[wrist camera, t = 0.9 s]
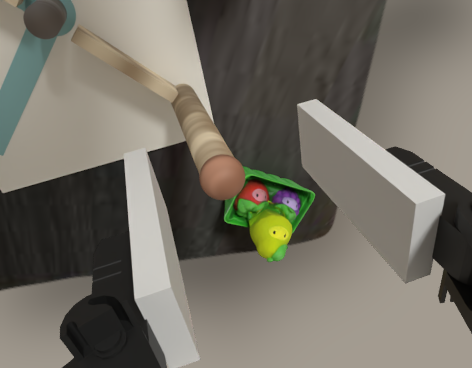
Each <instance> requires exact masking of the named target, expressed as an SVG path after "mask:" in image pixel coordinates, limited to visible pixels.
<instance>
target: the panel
mask: <svg viewBox="0 0 472 368" xmlns="http://www.w3.org/2000/svg"><path fill="white" fill-rule="evenodd" d="M71 42H73V43H75V44H76V45H78V46H80V47H81V48H83V49H85V50H86V51H88V52H90V53H91V54H93V55H94V56H96V57H98V58H99V59H101V60H103V61H104V62H106V63H108V64H109V65H111V66H112V67H114V68H116V69H117V70H119V71H121V72H122V73H124V74H126V75H127V76H129V77H131V78H132V79H134V80H135V81H137V82H139V83H140V84H142V85H144V86H145V87H147V88H149V89H150V90H152V91H153V92H155V93H157V94H158V95H160V96H162V97H163V98H165V99H167V100H168V101H170V102H171V104H172V107H173V109H174V112H175V114H176V117H177V119H178V122H179V124H180V127H181V129H182V132H183V134H184V137H185V139H186V142H187V144H188V147H189V149H190V152H191V154H192V157H193V159H194V162H195V164H196V167H197V169H198V172H199V174H200V184H201V186H202V188H203V190H204V191H205V193H206V194H207V195H209V196H210V197H212V198H214V199H217V200H227V199H231V198H233V197H235V196H236V195H237V194H238V193H239V192H240V191H241V190H242V188H243V186H244V183H245V172H244V168H243V166H242V165H241V163H240V162H239V161H238V160H237V159H235V158H234V156H233V155H232V153H231V151H230V150H229V148H228V146H227V145H226V143H225V141H224V140H223V138H222V136H221V135H220V133H219V131H218V130H217V128H216V126H215V125H214V123H213V121H212V120H211V118H210V116H209V114H208V113H207V111H206V109H205V108H204V106H203V104H202V103H201V101H200V99H199V98H198V96H197V94H196V93H195V91H194V89H193V88H192V87H191V86H190V85H187V84H178V85H176V86H175V85H173V84H172V83H170V82H169V81H167V80H166V79H164V78H162V77H161V76H159V75H158V74H156V73H155V72H153V71H152V70H150V69H148V68H147V67H145V66H144V65H142V64H141V63H139V62H138V61H136V60H134V59H133V58H131V57H130V56H128V55H127V54H125V53H123V52H122V51H120V50H119V49H117V48H116V47H114V46H113V45H111V44H109V43H108V42H106V41H105V40H103V39H102V38H100V37H99V36H97V35H95V34H94V33H92V32H91V31H89V30H88V29H86V28H84V27H83V26H81V25H80V24H79V25H78V27H77V29H76V30H75V32H74V34H73V36H72V39H71Z"/></svg>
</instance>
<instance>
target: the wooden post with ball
mask: <svg viewBox="0 0 472 368" xmlns="http://www.w3.org/2000/svg"><path fill="white" fill-rule="evenodd" d="M4 1H6V2H8V3H9V4H11V5H12V6H14V7H17V6H19V5H20V4H22V3H23V1H24V0H4ZM23 19H24V24H25V26H26V28H27V29H28V31H29V32H30V33H31V34H33V35H34V36H36V37H38V38H40V39H51V38H54V37H55V36H57V35H58V33H59V32H60V30H61V28H62V26H63V25H64V23H65V21H66V19H67V11H66V8H65V6H64V5H63V3H62V2H61V1H60V0H36V1H35V2H34V3H32V4H31V5H30V6H28V7H27V8H26V10H25V12H24V16H23Z"/></svg>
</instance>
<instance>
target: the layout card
mask: <svg viewBox="0 0 472 368" xmlns="http://www.w3.org/2000/svg"><path fill="white" fill-rule="evenodd" d="M35 1H36V0H24V1H23V3H22V4H20V5H19V6H17V7H14V6H12V5H11V4H9V3H8V2H6V1H4V0H0V190H1V191H2V193H6V192H9V191H13V190H16V189H20V188H23V187H27V186H30V185H34V184H37V183H41V182H44V181H47V180H51V179H54V178H58V177H61V176H65V175H68V174H72V173H75V172H79V171H82V170H86V169H89V168H93V167H96V166H100V165H103V164H107V163H110V162H114V161H117V160H121V159H124V154H125V153H128V152H132V151H135V150H139V149H142V148H146V151H147V152H149V151H152V150H156V149H159V148H163V147H166V146H170V145H173V144H177V143H180V142H184V141H186V139H185V137H184V134H183V132H182V129H181V127H180V124H179V122H178V119H177V117H176V114H175V112H174V109H173V107H172V104H171V102H170V101H168V100H167V99H165V98H163V97H162V96H160V95H158V94H157V93H155V92H153V91H152V90H150V89H149V88H147V87H145V86H144V85H142V84H140V83H139V82H137V81H135V80H134V79H132V78H131V77H129V76H127V75H126V74H124V73H122V72H121V71H119V70H117V69H116V68H114V67H112V66H111V65H109V64H108V63H106V62H104V61H103V60H101V59H99V58H98V57H96V56H94V55H93V54H91V53H90V52H88V51H86V50H85V49H83V48H81V47H80V46H78V45H76V44H75V43H73V42H71V39H72V36H73V34H74V32H75V30H76V29H77V27H78V25H79V24H80V25H81V26H83V27H84V28H86V29H88V30H89V31H91V32H92V33H94V34H95V35H97V36H99V37H100V38H102V39H103V40H105V41H106V42H108V43H109V44H111V45H113V46H114V47H116V48H117V49H119V50H120V51H122V52H123V53H125V54H127V55H128V56H130V57H131V58H133V59H134V60H136V61H138V62H139V63H141V64H142V65H144V66H145V67H147V68H148V69H150V70H152V71H153V72H155V73H156V74H158V75H159V76H161V77H162V78H164V79H166V80H167V81H169V82H170V83H172V84H173V85H175V86H176V85H178V84H187V85H190V86H191V87H192V88H193V89H194V91H195V93H196V94H197V96H198V98H199V99H200V101H201V103H202V104H203V106H204V108H205V109H206V111H207V113H208V114H209V116H210V118H211V120H212V121H213V117H212V112H211V108H210V103H209V99H208V94H207V90H206V85H205V81H204V76H203V72H202V67H201V63H200V58H199V54H198V50H197V45H196V41H195V36H194V32H193V27H192V23H191V18H190V14H189V9H188V5H187V0H60V1H61V2H62V3H63V5H64V6H65V8H66V11H67V19H66V21H65V23H64V25H63V26H62V28H61V30H60V32H59V33H58V35H57V36H55V37H54V38H51V39H40V38H38V37H36V36H34V35H33V34H31V33H30V32H29V31H28V29H27V28H26V26H25V24H24V19H23V16H24V12H25V10H26V8H27V7H28V6H30V5H31V4H32V3H34V2H35ZM213 123H214V121H213Z"/></svg>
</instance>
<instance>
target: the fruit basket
mask: <svg viewBox="0 0 472 368" xmlns="http://www.w3.org/2000/svg"><path fill="white" fill-rule="evenodd" d="M243 168H244V172H245V183H244V186H243V188H242V190H241V191H240V192H239V193H238V194H237V195H236V196H235V197H233V198H231V199H227V200H225V212H224V221H225V222H226V223H229V224H234V225H239V226H244V227H249V228H250V235H251V238H252V240H253V242H254V243H255V245H256V248H257V251H258V253H259V255H260V256H262V257H263V258H266V259H267V261H268V262H272V261H280V260H282V259H283V258H284V256H285V252H286V249H287V248H288V247H287V243H288V242H289V240H290V238H291V234H292V233H293V232H294V230H295V229H296V227H297V225H298V224H299V223H300V221H301V219H302V218H303V216H304V215H305V213H306V211H307V210H308V208H309V206H310V205H311V204H312V201H313V200H314V198H315V194H314V192H312V191H310V190H308V189H305V188H303V187H301V186H300V185H298V184H296V183H295V182H293V181H291V180H288V179H285V178H279V177H278V176H275V175H271V174H265V173H264V172H261V171H258V170H251V169H249V168H247V167H244V166H243Z"/></svg>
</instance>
